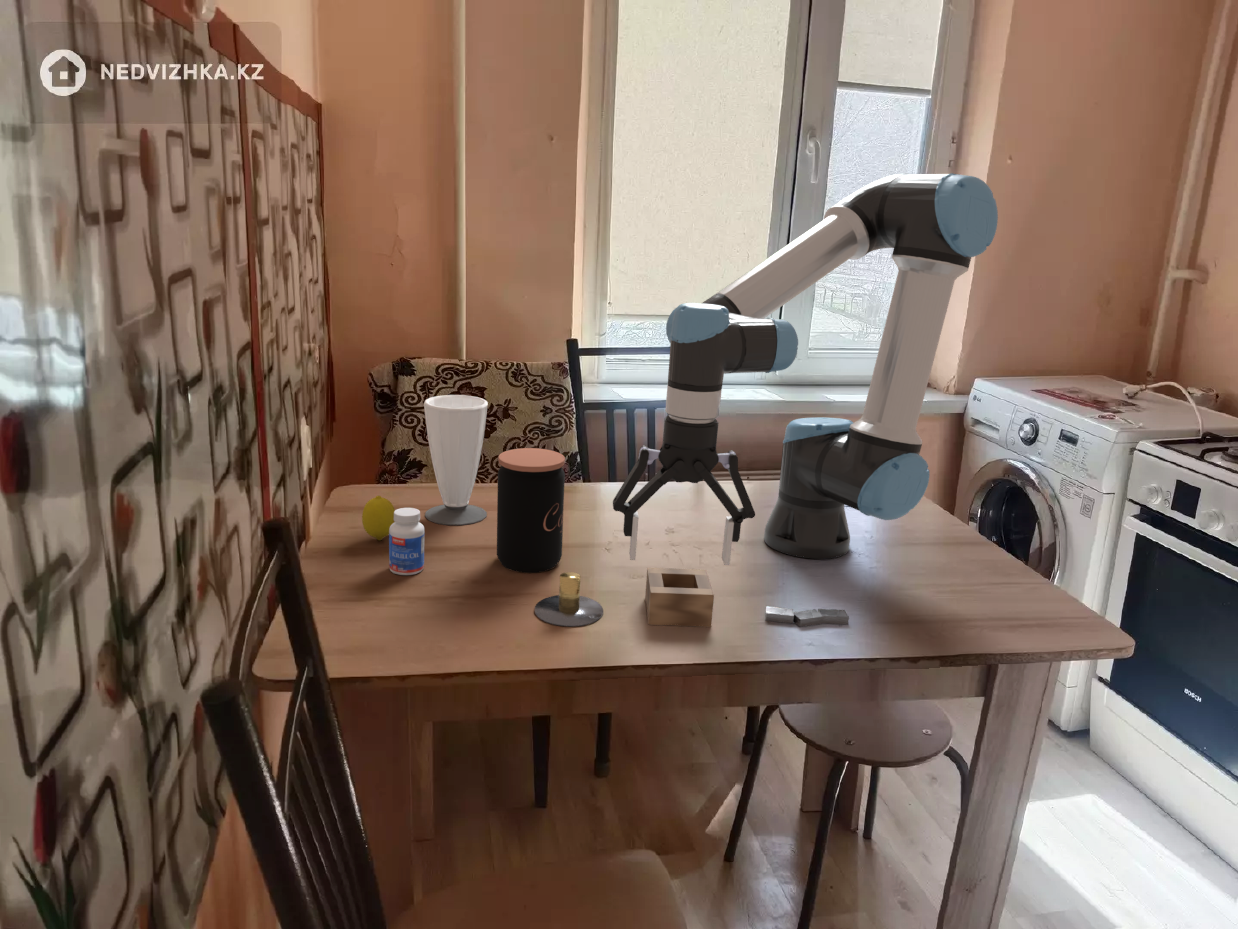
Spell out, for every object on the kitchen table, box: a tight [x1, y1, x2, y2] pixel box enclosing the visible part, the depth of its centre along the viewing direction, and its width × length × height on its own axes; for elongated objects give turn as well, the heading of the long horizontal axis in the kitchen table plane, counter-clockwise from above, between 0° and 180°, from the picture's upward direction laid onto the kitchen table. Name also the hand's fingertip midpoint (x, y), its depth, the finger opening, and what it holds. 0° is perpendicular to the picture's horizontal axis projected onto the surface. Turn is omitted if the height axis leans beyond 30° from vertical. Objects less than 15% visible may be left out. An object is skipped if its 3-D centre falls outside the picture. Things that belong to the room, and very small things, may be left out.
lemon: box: [361, 495, 396, 541], centre depth 155 cm, size 6×6×8 cm
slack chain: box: [764, 605, 850, 628], centre depth 134 cm, size 12×4×1 cm, turn 92°
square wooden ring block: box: [644, 567, 715, 628], centre depth 135 cm, size 9×9×5 cm
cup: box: [423, 394, 489, 526], centre depth 167 cm, size 12×12×22 cm
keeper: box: [534, 571, 604, 628], centre depth 133 cm, size 10×10×6 cm
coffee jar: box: [496, 447, 566, 574], centre depth 148 cm, size 11×11×18 cm
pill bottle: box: [388, 507, 425, 576], centre depth 144 cm, size 6×5×10 cm
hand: (679, 559), depth 133 cm, fingers open, 13 cm apart
